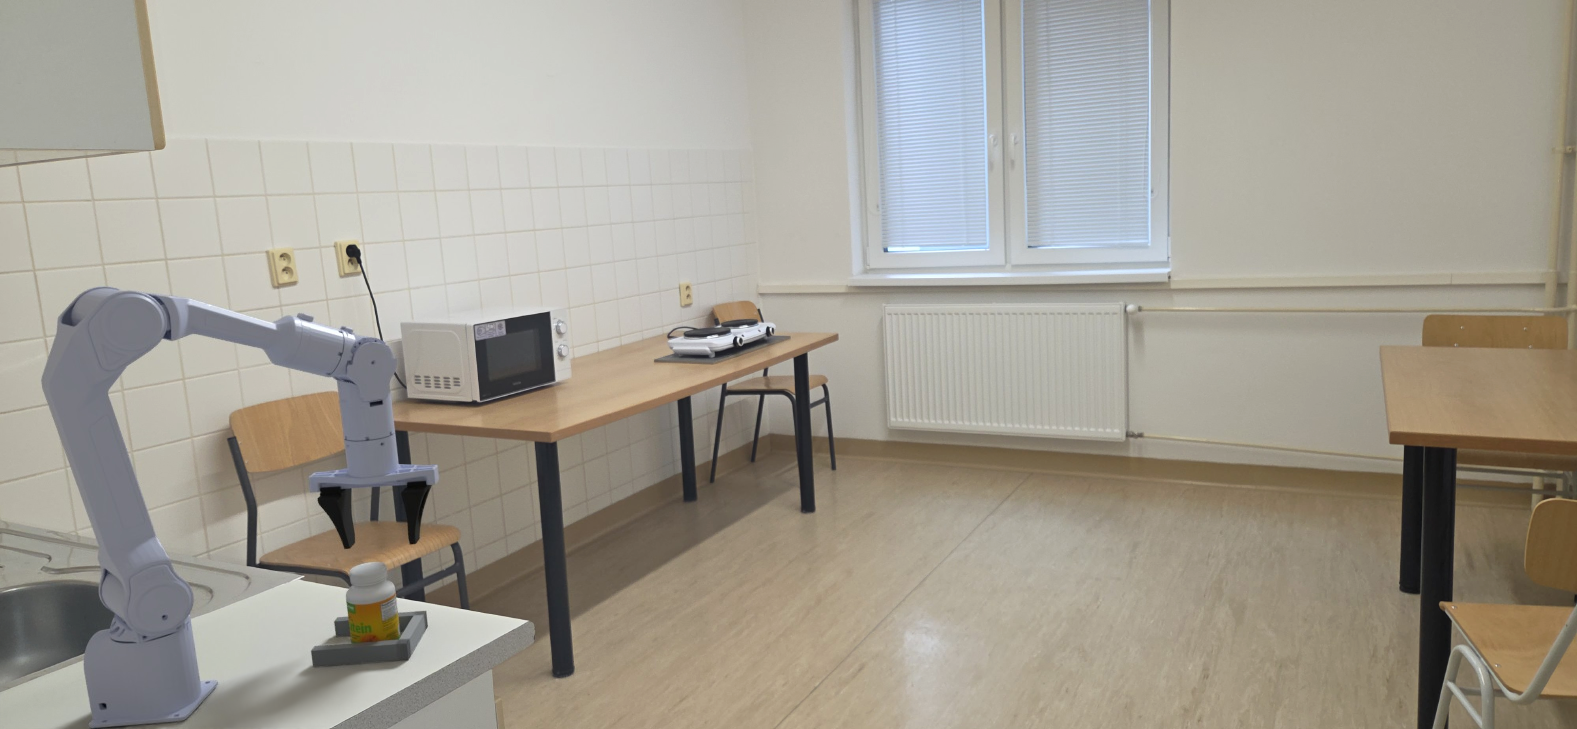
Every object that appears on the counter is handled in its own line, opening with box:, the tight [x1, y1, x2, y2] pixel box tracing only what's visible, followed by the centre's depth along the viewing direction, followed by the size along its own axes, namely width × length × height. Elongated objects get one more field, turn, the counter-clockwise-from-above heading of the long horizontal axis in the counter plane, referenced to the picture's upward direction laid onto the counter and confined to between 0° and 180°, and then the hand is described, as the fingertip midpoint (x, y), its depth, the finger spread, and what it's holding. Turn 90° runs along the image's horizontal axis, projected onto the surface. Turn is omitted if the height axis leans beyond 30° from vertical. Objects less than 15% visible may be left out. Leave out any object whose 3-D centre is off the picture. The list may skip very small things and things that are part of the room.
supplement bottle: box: [345, 561, 401, 643], centre depth 120 cm, size 5×5×10 cm
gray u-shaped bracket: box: [310, 610, 429, 668], centre depth 121 cm, size 10×9×2 cm
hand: (382, 543), depth 125 cm, fingers open, 7 cm apart
